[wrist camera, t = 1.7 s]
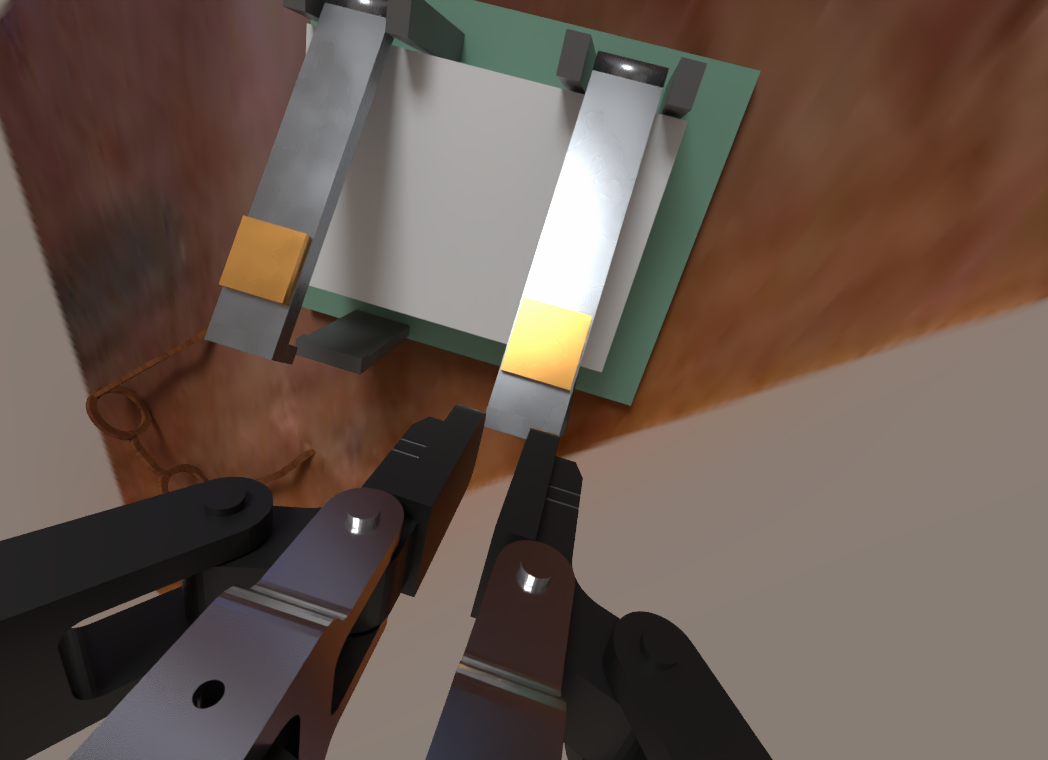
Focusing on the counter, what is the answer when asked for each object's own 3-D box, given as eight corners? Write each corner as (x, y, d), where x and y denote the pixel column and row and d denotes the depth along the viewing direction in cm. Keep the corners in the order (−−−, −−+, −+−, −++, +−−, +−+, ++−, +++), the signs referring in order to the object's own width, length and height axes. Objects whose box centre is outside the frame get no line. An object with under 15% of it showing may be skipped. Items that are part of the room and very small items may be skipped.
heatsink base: (323, -33, 26) (210, -107, 19) (755, 74, 25) (810, 36, 17) (310, 303, 35) (229, 339, 28) (630, 399, 33) (632, 463, 26)
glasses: (125, 378, 42) (66, 403, 37) (223, 317, 37) (168, 338, 33) (221, 494, 45) (178, 530, 41) (320, 452, 41) (283, 487, 37)
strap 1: (347, 12, 22) (328, -28, 20) (407, 27, 22) (394, -12, 20) (229, 345, 21) (196, 337, 19) (292, 364, 21) (265, 358, 19)
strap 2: (595, 75, 21) (600, 39, 19) (661, 91, 21) (672, 57, 19) (486, 425, 20) (480, 425, 18) (554, 445, 20) (555, 448, 18)
